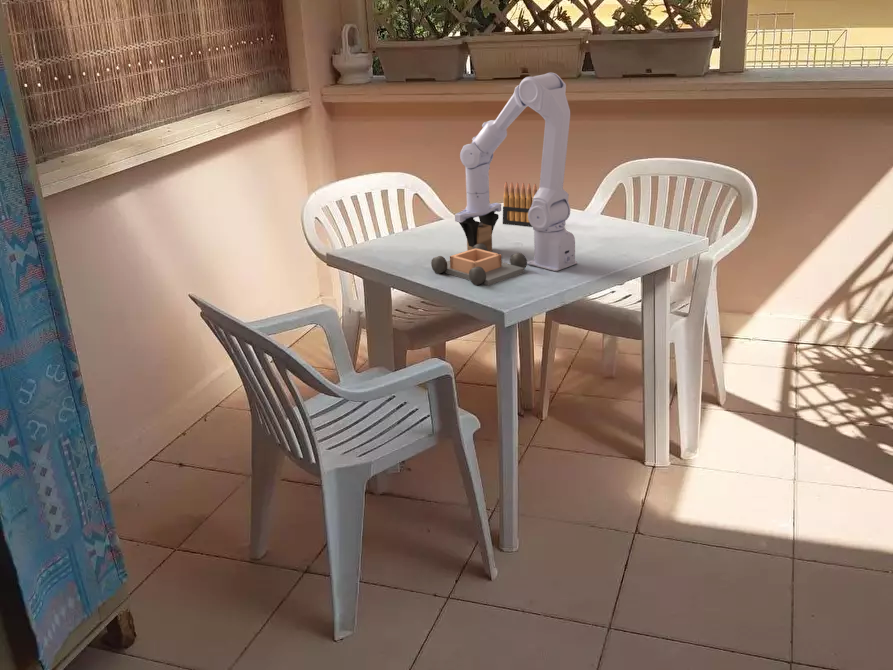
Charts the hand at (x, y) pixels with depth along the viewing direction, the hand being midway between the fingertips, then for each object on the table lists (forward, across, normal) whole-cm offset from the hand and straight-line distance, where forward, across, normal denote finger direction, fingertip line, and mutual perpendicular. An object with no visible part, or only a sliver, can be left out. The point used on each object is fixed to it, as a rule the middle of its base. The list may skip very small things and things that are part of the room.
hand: (479, 244), depth 225 cm
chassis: (+2, +12, +12) cm, 17 cm away
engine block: (+2, 0, 0) cm, 2 cm away
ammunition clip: (+2, -25, -9) cm, 27 cm away
